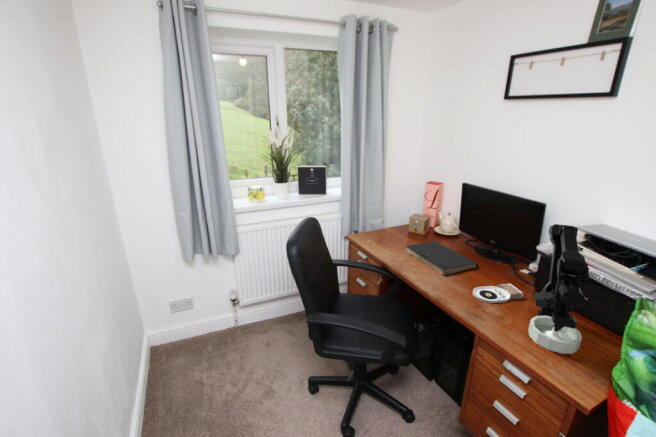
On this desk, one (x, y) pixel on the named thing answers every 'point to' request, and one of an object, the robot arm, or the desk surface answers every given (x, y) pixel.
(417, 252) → the dark grey book
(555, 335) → the chess piece
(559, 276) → the robot arm
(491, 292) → the record player
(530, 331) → the bowl
